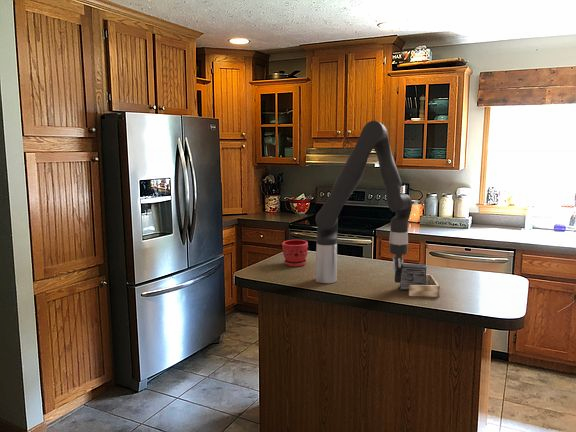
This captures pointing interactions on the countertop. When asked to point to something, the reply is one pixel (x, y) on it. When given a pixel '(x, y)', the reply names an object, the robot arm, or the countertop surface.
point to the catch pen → (425, 288)
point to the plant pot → (295, 252)
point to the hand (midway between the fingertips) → (397, 282)
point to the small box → (412, 275)
